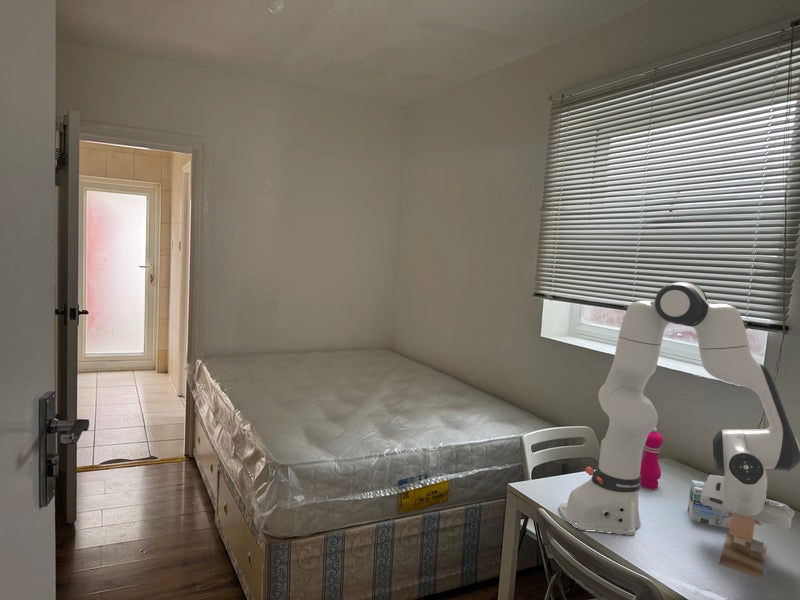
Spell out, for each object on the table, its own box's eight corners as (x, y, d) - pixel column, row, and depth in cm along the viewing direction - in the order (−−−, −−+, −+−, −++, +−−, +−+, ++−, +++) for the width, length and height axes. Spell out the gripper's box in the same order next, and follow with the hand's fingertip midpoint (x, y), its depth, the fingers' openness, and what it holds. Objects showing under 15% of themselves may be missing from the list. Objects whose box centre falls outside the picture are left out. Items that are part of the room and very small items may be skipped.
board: (761, 582, 129) (763, 565, 128) (718, 567, 134) (720, 550, 134) (766, 549, 144) (768, 533, 144) (727, 536, 149) (729, 521, 149)
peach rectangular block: (752, 541, 141) (756, 512, 140) (729, 534, 144) (732, 506, 143) (753, 533, 145) (757, 505, 144) (731, 526, 148) (734, 499, 148)
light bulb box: (689, 523, 156) (694, 488, 154) (686, 513, 162) (690, 478, 161) (731, 532, 152) (736, 496, 151) (726, 521, 158) (731, 486, 157)
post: (744, 545, 143) (748, 520, 143) (733, 541, 145) (736, 517, 144) (745, 541, 145) (749, 517, 145) (734, 538, 147) (737, 513, 146)
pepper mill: (663, 490, 176) (670, 431, 174) (641, 489, 176) (648, 430, 174) (653, 480, 183) (660, 424, 181) (632, 479, 184) (638, 422, 181)
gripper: (796, 497, 131) (792, 520, 140) (702, 472, 144) (703, 494, 152) (793, 522, 128) (789, 543, 137) (697, 494, 140) (699, 515, 149)
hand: (743, 517), depth 145 cm, fingers closed on peach rectangular block, 5 cm apart
